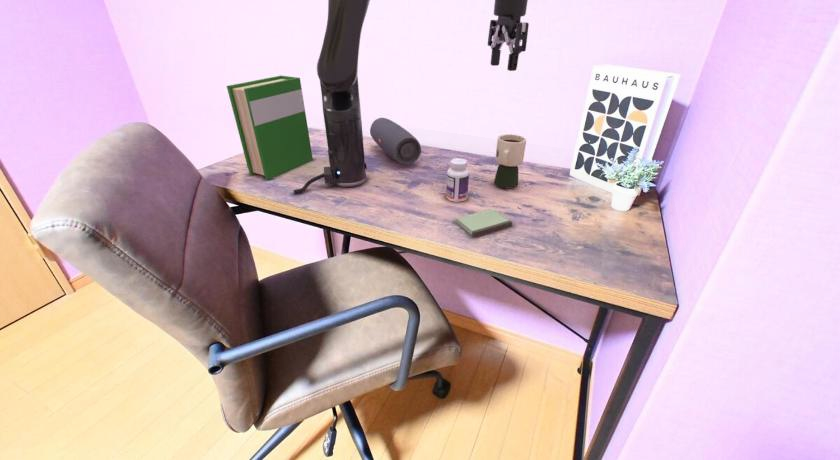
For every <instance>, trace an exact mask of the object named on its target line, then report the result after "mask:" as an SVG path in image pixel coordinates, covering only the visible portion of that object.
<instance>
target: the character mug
mask: <svg viewBox="0 0 840 460" xmlns="http://www.w3.org/2000/svg"><path fill="white" fill-rule="evenodd" d="M496 141H497V142H496V151H495V157H494V158H495V162H496V163H498V165H497V168H496V172H495V176H494V181H493V183H494V185H495V186H496V187H499V188H504V189H505V188H506V189H515V188H517V187H518V185H519V166H521V165H522V164H523V163H524V157H525V150H526V145H527V138H526V137H525V136H522V135H519V134H512V133H507V134H501V135H498V136H497V140H496Z"/></svg>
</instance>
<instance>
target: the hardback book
mask: <svg viewBox="0 0 840 460" xmlns="http://www.w3.org/2000/svg"><path fill="white" fill-rule="evenodd" d="M226 89H227V90H226V91H227V94H228V97H229V100H230V104H231V109H232V112H233V116H234V121H235V124H236V127H237V132H238V135H239V139H240V143H241V148H242V151H243V154H244V159H245V163H246V166H247V170H248V174H249V176H254V175H256V174H257V175H260V176H264V179H265V180H266V181H269V180H271V179H273V178H276V177H278V176H280V175H282V174H285V173H286V172H289V171H291V170H294V169H296V168H298V167H300V166H303V165H305V164H307V163H309V162H311V161H313V160H314V159H313V158H314V157H313V152H312V145H311V139H310V133H309V132H310V131H309V126H308V121H307V114H306V107H305V101H304V95H303V89H302V84H301V78H300V77H297V76H296V77H295V76H290V75H289V76H287V75H276V76H271V77H266V78H260V79H256V80H251V81H244V82H240V83H235V84H229V85H226Z"/></svg>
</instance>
